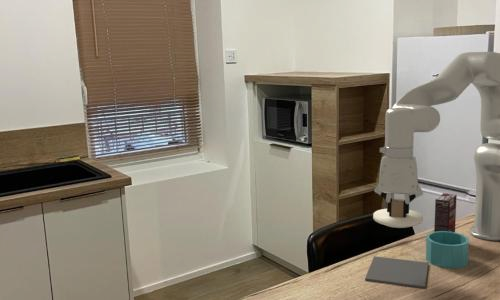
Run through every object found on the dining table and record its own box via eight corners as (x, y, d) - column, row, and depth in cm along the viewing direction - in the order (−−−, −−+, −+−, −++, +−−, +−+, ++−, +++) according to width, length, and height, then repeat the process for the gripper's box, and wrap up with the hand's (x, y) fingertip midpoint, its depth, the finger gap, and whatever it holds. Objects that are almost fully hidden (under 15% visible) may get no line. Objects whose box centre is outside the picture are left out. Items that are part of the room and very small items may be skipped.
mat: (374, 258, 152) (374, 256, 152) (428, 264, 146) (428, 262, 146) (365, 280, 138) (365, 278, 138) (424, 288, 132) (424, 286, 132)
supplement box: (448, 248, 157) (449, 201, 154) (433, 245, 160) (434, 199, 157) (455, 239, 164) (457, 194, 160) (440, 237, 166) (442, 192, 163)
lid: (377, 212, 148) (377, 192, 147) (424, 216, 142) (425, 195, 141) (369, 227, 135) (369, 205, 134) (421, 232, 130) (421, 209, 129)
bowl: (427, 250, 156) (427, 229, 155) (467, 254, 152) (468, 233, 150) (424, 265, 146) (425, 243, 144) (468, 270, 141) (469, 247, 140)
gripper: (366, 153, 135) (366, 217, 138) (429, 156, 129) (427, 222, 132) (371, 148, 142) (370, 209, 145) (431, 150, 135) (429, 214, 139)
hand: (397, 214), depth 139 cm, fingers closed on lid, 3 cm apart
